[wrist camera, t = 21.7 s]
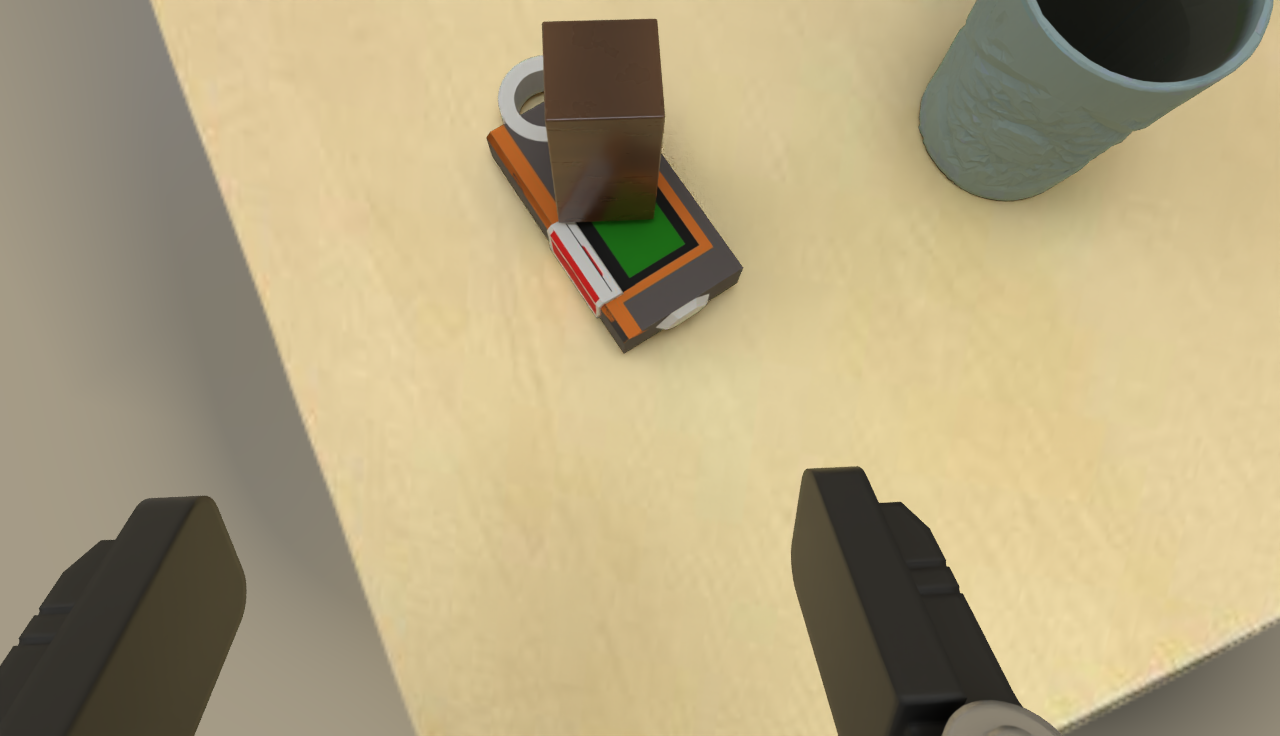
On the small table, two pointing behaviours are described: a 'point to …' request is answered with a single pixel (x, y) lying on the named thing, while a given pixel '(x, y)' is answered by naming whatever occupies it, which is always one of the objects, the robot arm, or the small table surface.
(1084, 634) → the small table surface
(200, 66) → the small table surface
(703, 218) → the electronic device
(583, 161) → the walnut block
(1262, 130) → the small table surface
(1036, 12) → the green cup
